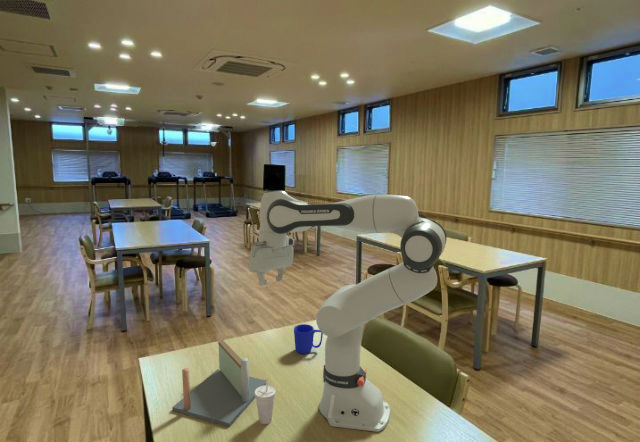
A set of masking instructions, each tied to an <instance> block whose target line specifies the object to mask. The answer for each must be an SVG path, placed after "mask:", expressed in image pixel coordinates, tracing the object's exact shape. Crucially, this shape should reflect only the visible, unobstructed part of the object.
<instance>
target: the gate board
mask: <svg viewBox="0 0 640 442" xmlns="http://www.w3.org/2000/svg"><path fill="white" fill-rule="evenodd" d="M249 363H250V362H249V358H247V357H243V358H241V393H242V396H241V395H240V394H239V393H238V391H237V390H236V389H235V388H234V386H233V385H232V384H231V383H230V381H229V380H228V379H227V378H226V376H225V375H224V374H223V373H222V371H221V370H220V369H219V368H217V369H216V370H215V371H214V372H212V373H211V374H210V375H209V376H208V377H206V378H205V379H204V380H203V381H202V382H200V383H199V384H198V385H197V386H195V388H193V389H192V390H191V385H190V384H191V383H190V382H191V381H190V380H191V379H190V368H183V369H182V371H181V373H182V374H181V375H182V393H183V397H182V398H181V399H180V400H179V401H177V403H175V404H174V405H173V406H172V411H173V412H176V413H180V414H182V415H186V416H190V417H193V418H197V419H200V420H204V421H208V422H211V423H213V424H218V425H220V426H225V427H228V428H230V427H231V426H232V425H233V424H234V423H235V422H236V420H238V418H240V416H241V414H243V412H244V411H246V409H247V408H248V406H249V405H251V403H252V402H253V401H254V400H256V398H255V396H254V394H255V390H256V389H257V388H258V387H260V386H264V385H266V379H262V378H258V377H252V376H250V375H249V367H250V366H249Z"/></svg>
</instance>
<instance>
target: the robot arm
mask: <svg viewBox="0 0 640 442" xmlns="http://www.w3.org/2000/svg"><path fill="white" fill-rule="evenodd" d="M259 207H260V208H259V220H260V221H259V222H260V226H259V230H258V231H259V232H258V234H259V235H258V241H256V242H255V243H254V244H253V245H252V246H251V250H250V252H249V258H248V270H249V272H251V273H256V276H257V278H258V285H259V286H260V287H264V286H266V285H267V279H266V278H265V274H266V272H269V271H273V270H277V271H278V273H277V275H275V280H276V282H279V283H280V282H283V279H284V274H285V272H286V268H289V267H292V265H293V262H294V247H293V246H294V245H295V239H294V238H292V237H291V236H289V235H287V234H288V233H302V232H306V231H308V230H310V229H311V228H312V227H332V228H339V229H344V230H350V231H355V232H360V233H368V234H387V233H388V234H389V233H390V234H394V235H397V236H399V237H400V238H401V240H400V244H399V245H400V253H401V257H402V262H401V263H399V264H397V265H394V266H392V267H389V268H387V269H385V270H383V271H381V272H378V273H377V274H374V275H372V276H370V277H368V278H365V279H364V280H362V281H361V282H359V283H357V284H355V283H354V284H353V283H352V284H347V285H343V286H342V287H340V288H339V289H337V290H336V291H335V292H334V293H333V294H332V295H330V296H329V297H328V298H326V299H325V301H323V303H322V304H321V306H319V308H318V311H317V313H316V316H315V322H316V325H317V327H318V330H320V331H321V332H322V333H323V335H325V336H326V340H325V343H324V346H325V347H324V351H325V352H324V353H325V354H324V365H323V371H322V372H323V373H322V378H323V379H322V380H323V388H322V389H323V390H322V396H321V399H320V402H319V406H318V407H319V408H318V409H319V412H320V413H321V415H322V416H323V417H324V418H326V420H327V423H328V425H329V426H331V427H334V428H344V429H352V430H361V431H368V432H370V431H371V432H381V431H383V430H385V428H386V427H387V425H388V423H389V421H390V417H391V407H390V405H389V404H388V402H387V401H384V397H383V395H382V394H383V393H382V391H381V390H380V389H379V387H377V386H375V385H374V384H373V383H372V382H371V381H369V379H367V370H368V369H367V368H364V369H363V368H362V367H361V348H362V347H361V345H362V340H363V333H364V327H365V324H366V323H368V322H370V321H372V320H373V319H375V318H377V317H379V316H380V315H382V314H385V313H387V312H390V311H392V310H394V309H395V310H396V309H397V308H400V307H402V306H404V305H407V304H409V303H412V302H414V301H416V300H418V299H420V298H422V297H423V296H425V295H427V294H429V293H430V292H432V291H433V290H434V289H435V288H436V287H437V284H438V275H437V271H436V269H435V268H434V265H435V264H436V263H437V262H438V260H439V259H440V257H441V256H442V254H443V253H444V250H445V247H446V244H447V233H446V231H445V228H444V227H443V226H442V225H441V224H439V223H438V222H437V221H435V220H433V219H430V218H429V217H427V216H425V215H423V214H419V209H418V206H417V203H416V202H415V200H414V199H413V198H412V197H410V196H408V195H399V194H370V195H363V196H359V197H353V198H350V199H346V200H341V201H336V202H331V203H317V204H314V203H313V204H312V203H311V204H309V203H306V202H305V201H302V200H299V199H297V198H295V197H292V196H291V195H289V194H288V192H286V191H285V190H270V191H267V192H264V194H263V195H262V197H261V201H260V206H259ZM321 332H320V333H321Z"/></svg>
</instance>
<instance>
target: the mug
mask: <svg viewBox="0 0 640 442" xmlns="http://www.w3.org/2000/svg"><path fill="white" fill-rule="evenodd" d="M314 328H315V327H314V326H313V325H312V324H311V325H310V324H305V323H304V324H303V323H302V324H297V325H295V326H294V327H293V336H294V348H295V351H296V352H297V353H298V354H301V355H305V354H309V353H310V352H311V351H312V350H313V348H314V349H318V348H320V347H321V345H322V342H323V335H324V334H323V333H322V332H321V331H320V330H319V329H314ZM315 333H320V339H319V344H317V345H315V344H314V336H315Z"/></svg>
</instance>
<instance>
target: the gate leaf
mask: <svg viewBox="0 0 640 442" xmlns="http://www.w3.org/2000/svg"><path fill="white" fill-rule="evenodd" d="M217 344H218V361H219V362H218V363H219V365H218V369H219V370H221V371H222V373H223V374H224V375H225V376H226V378H227V379H228V380H229V381H230V383H231V384H232V385H233V386H234V388H235V389H236V390H237V391H238V393H239V394H240V395H241V396H242V393H241V359H242V358H241V357H240V356H239V355H238V354H237V353H236V352H235V351H234V350H233V348H231V347H230V346H229V345H228V344H227V342H226V341H225V340H224V339H222V340H218V341H217Z"/></svg>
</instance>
